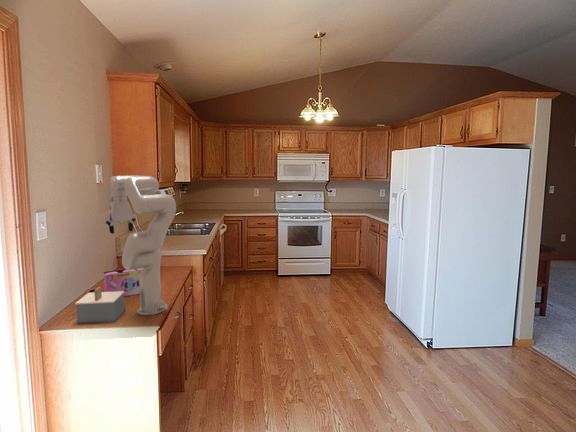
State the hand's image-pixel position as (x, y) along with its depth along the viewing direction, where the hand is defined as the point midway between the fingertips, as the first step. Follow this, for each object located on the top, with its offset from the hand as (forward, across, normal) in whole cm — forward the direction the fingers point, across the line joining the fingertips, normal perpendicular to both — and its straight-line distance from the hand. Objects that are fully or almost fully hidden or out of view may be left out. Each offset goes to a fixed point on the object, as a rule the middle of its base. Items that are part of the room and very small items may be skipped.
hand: (121, 232), depth 196 cm
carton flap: (+27, -19, -18) cm, 38 cm away
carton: (+36, -19, -18) cm, 45 cm away
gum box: (+36, +3, +5) cm, 36 cm away
